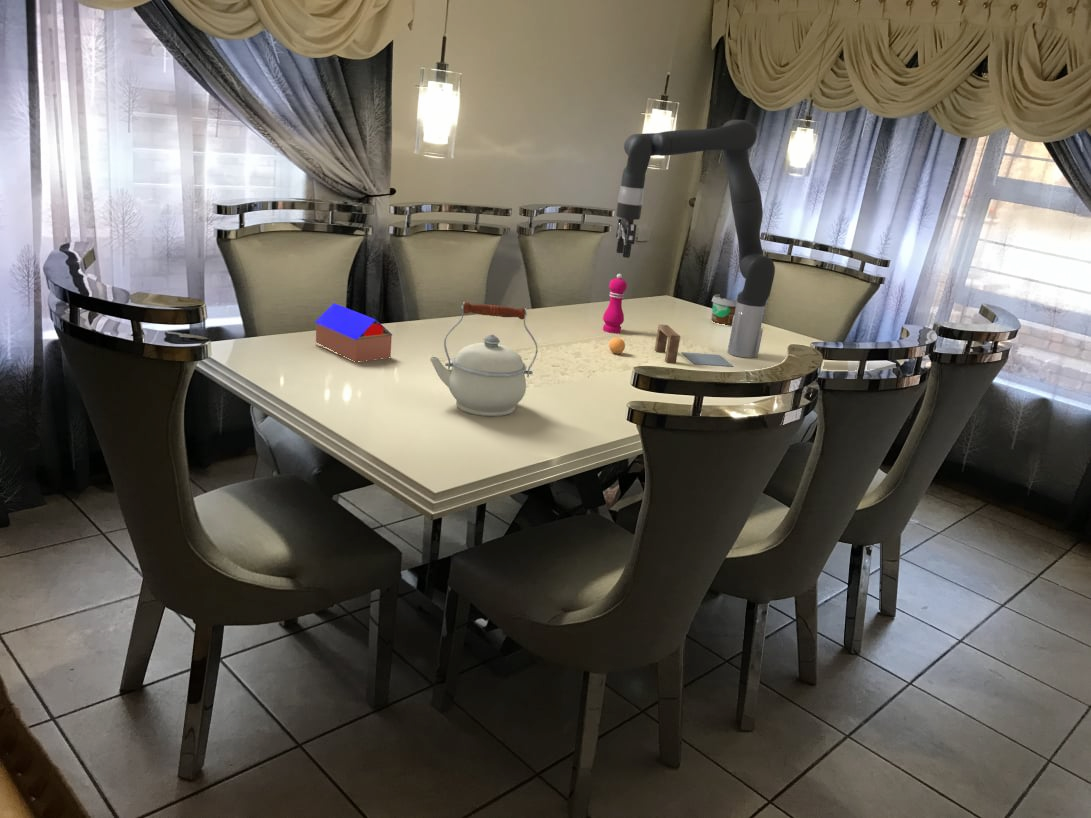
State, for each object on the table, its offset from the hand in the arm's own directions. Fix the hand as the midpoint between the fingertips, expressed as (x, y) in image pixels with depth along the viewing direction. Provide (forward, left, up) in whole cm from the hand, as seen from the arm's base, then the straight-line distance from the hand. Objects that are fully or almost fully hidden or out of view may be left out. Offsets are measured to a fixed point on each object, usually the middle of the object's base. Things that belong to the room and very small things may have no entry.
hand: (622, 255), depth 266 cm
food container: (-53, -46, -30) cm, 76 cm away
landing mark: (-30, +10, -29) cm, 43 cm away
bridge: (-16, +10, -29) cm, 35 cm away
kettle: (+48, +68, -30) cm, 88 cm away
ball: (0, +10, -27) cm, 28 cm away
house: (+80, +27, -30) cm, 89 cm away
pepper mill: (-5, -20, -29) cm, 36 cm away
